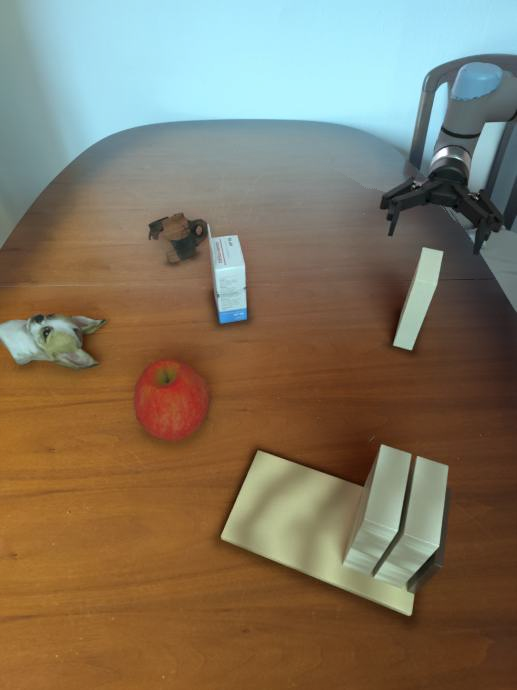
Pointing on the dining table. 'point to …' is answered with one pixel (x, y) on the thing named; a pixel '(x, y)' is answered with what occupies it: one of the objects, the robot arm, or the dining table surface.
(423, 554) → the book rack
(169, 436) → the apple
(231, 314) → the ink box
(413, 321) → the cream book
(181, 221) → the pottery mug
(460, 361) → the dining table surface
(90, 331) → the ceramic sculpture
